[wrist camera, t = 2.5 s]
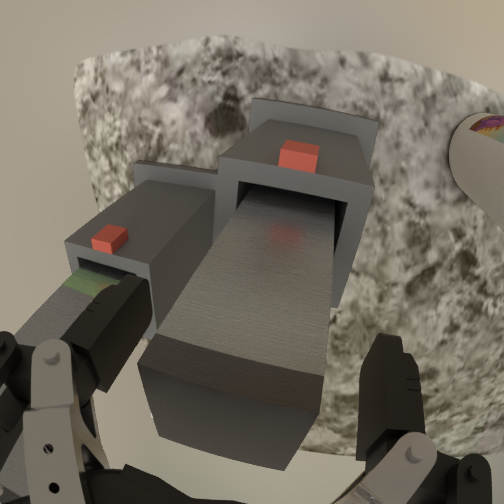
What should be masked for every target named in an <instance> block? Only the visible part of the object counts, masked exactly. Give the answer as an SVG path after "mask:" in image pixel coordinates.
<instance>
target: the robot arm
mask: <svg viewBox="0 0 504 504" xmlns="http://www.w3.org/2000/svg"><path fill="white" fill-rule="evenodd" d="M152 315H153V309H152V301H151V293H150V285H149V281H148V280H147V279H145V278H142V277H138V276H134V275H131V274H127V275H125V276H124V277H123V279H122V280H121V281H120V282H119V283H118V284H117V285H114V284H112V285H110V286H108V287H106V288H105V289H103V290H101V291H100V292H99V293H98V294H97V295H96V297H95V298H94V299H93V300H92V303H91V302H90V303H89V305H88V306H87V307H86V309H85V310H83V312H82V313H81V314H80V315H79V316H78V317H77V319H76V320H75V321H74V322H73V323H72V325H71V326H70V327H69V328H68V329H67V331H66V332H65V333H64V334H63V335H62V337H61V338H60V339H49V340H46V341H44V342H42V343H41V344H39V345H38V346H37V347H35V346H28V345H21V344H18V343H17V341H16V339H15V337H14V336H13V335H12V334H11V333H9V332H6V331H1V332H0V388H1V387H2V385H3V384H5V386H6V388H5V390H4V391H3V393H2V394H1V396H0V472H1V470H2V468H3V466H4V464H5V462H6V460H7V458H8V456H9V455H10V453H11V451H12V449H13V447H14V445H15V444H16V442H17V440H18V438H19V436H20V435H21V433H22V431H23V436H24V452H25V463H26V473H27V481H28V488H29V495H27V496H24V497H21V498H18V499H15V500H11V501H8V502H5V503H2V504H246V503H241V502H237V501H232V500H230V501H229V500H209V499H195V498H191V497H189V496H187V495H185V494H184V493H182V492H181V491H179V490H177V489H176V488H174V487H172V486H171V485H169V484H168V483H166V482H165V481H163V480H162V479H160V478H159V477H156V476H154V475H151V474H149V473H146V472H144V471H141V470H139V469H137V468H134V467H132V466H130V465H127V464H125V466H124V468H123V470H121V469H110V467H109V463H108V460H107V457H106V454H105V452H104V450H103V447H102V444H101V441H100V436H99V431H98V425H97V419H96V414H95V407H94V401H93V396H92V394H93V393H94V391H95V390H96V389H99V390H101V391H103V392H105V393H107V392H108V390H109V389H110V387H111V385H112V384H113V382H114V380H115V379H116V377H117V376H118V374H119V372H120V371H121V369H122V368H123V366H124V365H125V363H126V361H127V360H128V358H129V356H130V355H131V353H132V352H133V350H134V348H135V347H136V346H137V344H138V342H139V341H140V339H141V338H142V336H143V335H144V333H145V332H146V330H147V329H148V327H149V325H150V323H151V320H152ZM419 380H420V377H419V370H418V365H417V364H416V362H415V360H414V358H413V357H412V355H411V354H409V353H403V345H402V339H401V337H400V336H395V335H389V334H384V333H379V334H378V335H377V336H376V338H375V340H374V342H373V344H372V346H371V348H370V350H369V352H368V354H367V356H366V358H365V359H364V361H363V364H362V367H361V371H360V378H359V413H358V433H357V448H356V460H357V461H366V467H365V471H363V472H362V473H361V475H359V477H357V479H356V480H355V481H354V482H353V483H352V484H351V485H350V486H348V487H347V488H346V489H345V490H344V491H343V492H342V493H341V494H340V495H339V496H338V497H337V498H336V499H335V500H334V501H333V502H332V503H330V504H492V481H491V469H490V465H489V463H488V461H487V460H486V459H485V458H484V457H483V456H481V455H479V454H468V455H466V456H465V457H464V458H462V459H461V460H459V459H457V458H454V457H451V456H449V455H446V454H443V453H441V452H439V451H437V450H436V446H435V444H434V443H433V441H432V440H431V439H430V438H429V437H428V436H426V432H425V422H424V411H423V402H422V393H421V385H420V382H419ZM2 493H3V487H2V485H1V484H0V496H1V495H2Z"/></svg>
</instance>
